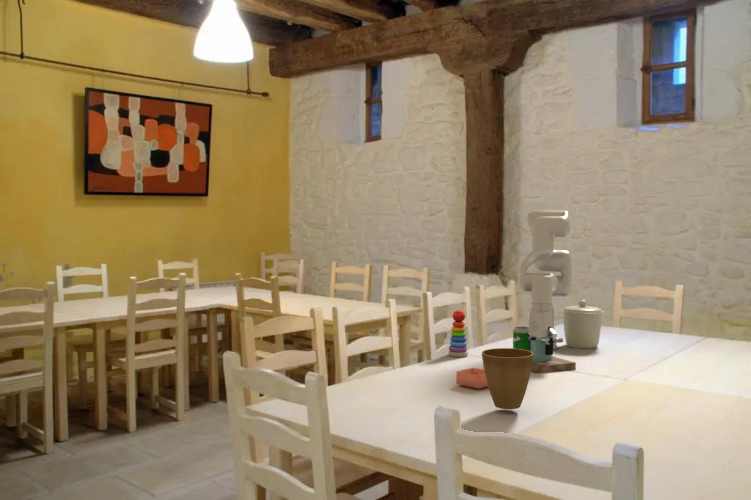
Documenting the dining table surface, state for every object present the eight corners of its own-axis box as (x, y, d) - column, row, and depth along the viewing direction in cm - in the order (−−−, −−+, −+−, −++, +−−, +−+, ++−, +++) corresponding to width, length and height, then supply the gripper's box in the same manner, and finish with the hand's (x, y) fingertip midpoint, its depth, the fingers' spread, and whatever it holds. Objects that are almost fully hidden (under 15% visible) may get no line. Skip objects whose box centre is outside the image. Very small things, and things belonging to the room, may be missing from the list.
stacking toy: (468, 357, 277) (469, 311, 276) (449, 357, 277) (449, 311, 277) (466, 354, 285) (467, 309, 284) (447, 353, 285) (447, 309, 284)
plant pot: (496, 397, 212) (497, 346, 211) (541, 405, 202) (542, 351, 202) (471, 407, 200) (472, 352, 200) (517, 416, 191) (518, 359, 190)
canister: (551, 346, 305) (552, 298, 305) (583, 343, 313) (584, 297, 312) (580, 352, 289) (580, 303, 288) (612, 349, 297) (613, 301, 296)
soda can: (530, 355, 282) (530, 326, 282) (532, 358, 275) (533, 329, 275) (511, 355, 283) (512, 326, 283) (513, 358, 276) (514, 328, 275)
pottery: (479, 388, 225) (479, 358, 224) (456, 383, 231) (456, 354, 231) (510, 380, 237) (510, 351, 237) (487, 375, 244) (488, 348, 244)
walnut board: (545, 360, 271) (545, 350, 271) (575, 369, 255) (575, 358, 255) (507, 364, 264) (507, 353, 264) (535, 373, 248) (535, 362, 248)
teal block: (530, 366, 260) (530, 340, 260) (545, 365, 263) (546, 339, 262) (535, 368, 257) (536, 341, 256) (551, 366, 259) (551, 340, 259)
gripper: (519, 305, 265) (519, 349, 266) (547, 310, 249) (547, 357, 250) (535, 304, 268) (535, 348, 269) (564, 309, 252) (563, 356, 253)
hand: (540, 352), depth 259 cm, fingers open, 9 cm apart
